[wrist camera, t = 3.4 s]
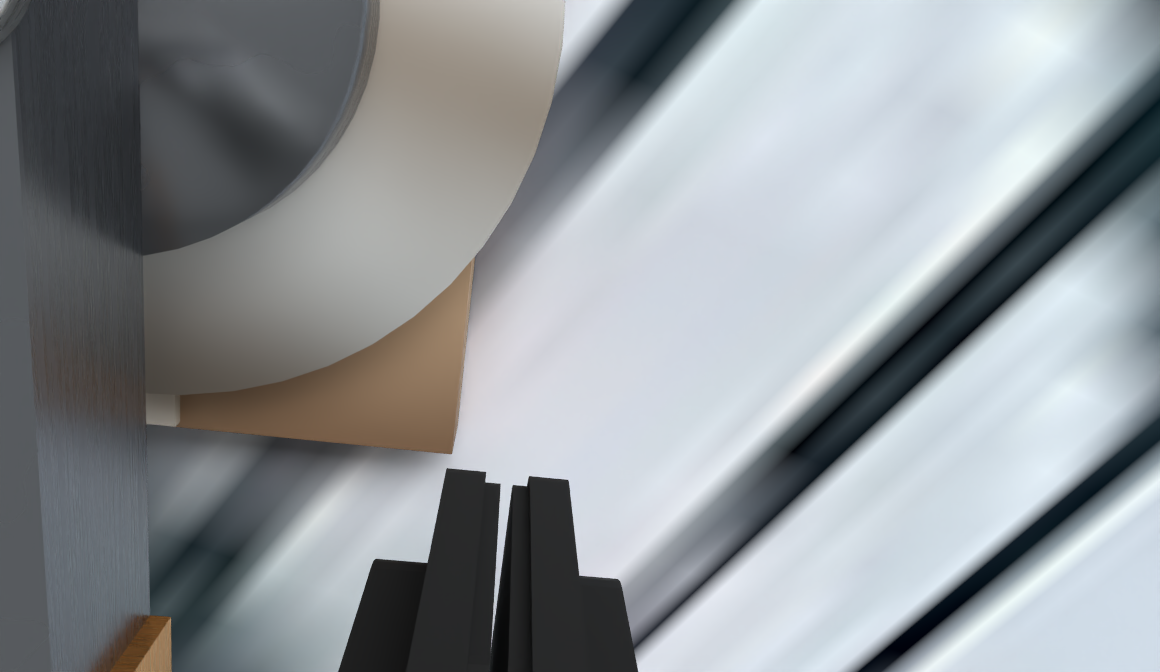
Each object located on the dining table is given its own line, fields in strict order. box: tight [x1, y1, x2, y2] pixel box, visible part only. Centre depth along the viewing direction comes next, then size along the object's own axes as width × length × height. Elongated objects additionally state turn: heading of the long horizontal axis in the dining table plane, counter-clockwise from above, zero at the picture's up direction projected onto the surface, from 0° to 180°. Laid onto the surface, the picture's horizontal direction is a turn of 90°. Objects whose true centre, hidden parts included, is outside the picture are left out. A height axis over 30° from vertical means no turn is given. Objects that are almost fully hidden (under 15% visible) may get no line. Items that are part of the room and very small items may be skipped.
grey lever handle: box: [0, 0, 380, 672], centre depth 10 cm, size 15×7×4 cm, turn 172°
